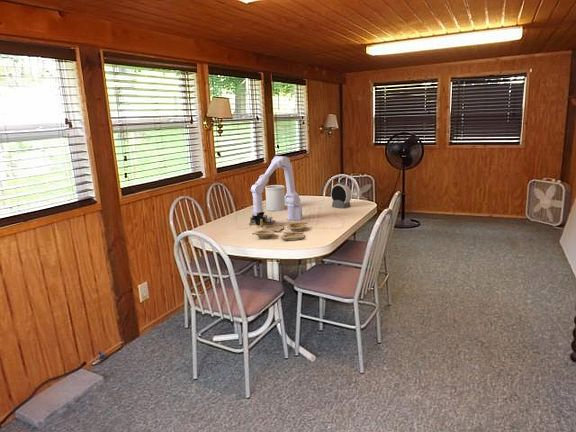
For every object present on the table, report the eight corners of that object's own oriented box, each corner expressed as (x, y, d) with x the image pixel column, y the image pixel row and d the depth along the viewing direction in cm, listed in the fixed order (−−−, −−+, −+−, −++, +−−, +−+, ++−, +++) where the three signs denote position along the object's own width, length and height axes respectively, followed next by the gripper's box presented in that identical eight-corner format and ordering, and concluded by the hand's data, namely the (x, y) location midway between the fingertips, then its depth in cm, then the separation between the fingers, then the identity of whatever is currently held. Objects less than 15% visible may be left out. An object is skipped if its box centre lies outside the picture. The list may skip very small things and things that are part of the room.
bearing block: (267, 221, 277) (267, 215, 276) (265, 223, 272) (264, 217, 271) (263, 220, 278) (262, 215, 277) (260, 223, 272) (260, 217, 271)
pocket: (263, 220, 278) (263, 215, 278) (260, 223, 272) (260, 218, 271) (253, 220, 280) (253, 215, 279) (250, 223, 273) (250, 217, 273)
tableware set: (302, 242, 230) (301, 235, 229) (250, 242, 235) (249, 235, 234) (310, 226, 263) (309, 220, 262) (264, 226, 269) (264, 220, 268)
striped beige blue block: (272, 221, 275) (272, 216, 274) (271, 222, 272) (271, 217, 271) (262, 221, 276) (262, 216, 276) (261, 222, 274) (260, 217, 273)
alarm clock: (328, 206, 319) (327, 182, 314) (337, 204, 325) (337, 180, 321) (345, 209, 307) (344, 184, 303) (353, 206, 313) (353, 182, 309)
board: (275, 221, 278) (275, 220, 278) (271, 225, 269) (271, 223, 269) (253, 221, 282) (253, 220, 281) (249, 225, 272) (249, 223, 272)
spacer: (262, 225, 269) (262, 218, 268) (260, 227, 265) (260, 220, 264) (258, 225, 270) (257, 218, 269) (256, 227, 266) (255, 220, 265)
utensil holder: (287, 207, 323) (286, 184, 319) (283, 211, 309) (282, 187, 305) (268, 207, 326) (267, 185, 322) (264, 211, 312) (262, 188, 308)
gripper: (255, 201, 272) (256, 221, 275) (248, 205, 258) (249, 227, 261) (265, 201, 270) (266, 221, 273) (259, 205, 257) (260, 227, 260)
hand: (259, 224), depth 267 cm, fingers closed on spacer, 4 cm apart
